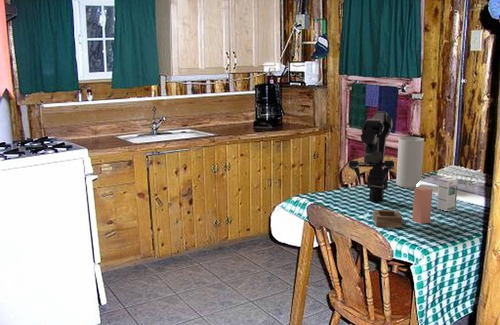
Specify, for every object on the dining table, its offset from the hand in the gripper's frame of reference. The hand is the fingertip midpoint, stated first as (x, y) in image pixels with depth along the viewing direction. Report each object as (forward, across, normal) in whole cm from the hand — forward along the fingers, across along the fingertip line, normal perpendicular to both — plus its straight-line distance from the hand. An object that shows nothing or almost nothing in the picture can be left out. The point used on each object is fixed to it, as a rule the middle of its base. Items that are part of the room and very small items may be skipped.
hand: (371, 184), depth 219 cm
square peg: (+14, +20, +5) cm, 25 cm away
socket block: (+16, +7, -1) cm, 17 cm away
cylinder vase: (-8, +16, +61) cm, 63 cm away
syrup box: (+8, +31, +24) cm, 41 cm away
